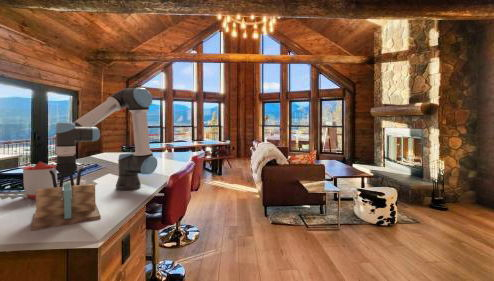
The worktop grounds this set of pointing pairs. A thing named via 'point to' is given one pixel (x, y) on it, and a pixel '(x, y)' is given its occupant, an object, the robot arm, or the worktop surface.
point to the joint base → (65, 221)
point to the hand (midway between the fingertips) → (67, 203)
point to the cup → (83, 182)
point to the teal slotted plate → (67, 200)
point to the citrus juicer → (37, 178)
